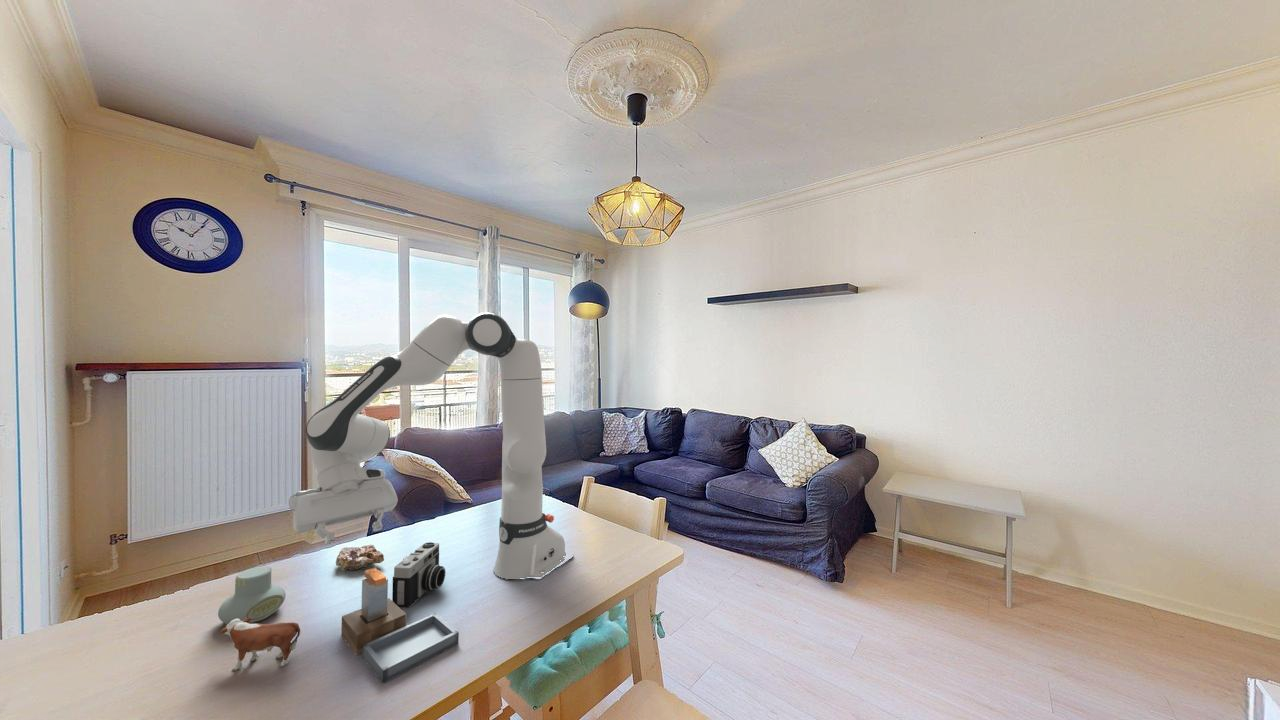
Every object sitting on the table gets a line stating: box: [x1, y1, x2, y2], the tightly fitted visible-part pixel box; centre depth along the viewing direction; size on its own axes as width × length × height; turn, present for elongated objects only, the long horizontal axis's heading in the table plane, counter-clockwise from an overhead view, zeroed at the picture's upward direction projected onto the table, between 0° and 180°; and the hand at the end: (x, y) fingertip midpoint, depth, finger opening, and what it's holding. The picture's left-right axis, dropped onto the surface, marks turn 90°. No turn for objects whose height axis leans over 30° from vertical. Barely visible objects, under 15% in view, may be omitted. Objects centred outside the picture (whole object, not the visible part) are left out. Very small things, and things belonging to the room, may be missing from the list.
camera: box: [391, 541, 446, 609], centre depth 104 cm, size 14×9×10 cm, turn 170°
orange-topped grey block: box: [361, 567, 389, 624], centre depth 88 cm, size 4×6×13 cm, turn 51°
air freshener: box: [217, 565, 286, 625], centre depth 93 cm, size 11×8×10 cm
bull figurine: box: [220, 618, 301, 672], centre depth 79 cm, size 4×13×8 cm, turn 95°
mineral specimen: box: [335, 544, 385, 571], centre depth 117 cm, size 12×8×7 cm
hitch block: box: [340, 597, 407, 656], centre depth 88 cm, size 9×9×4 cm
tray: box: [361, 612, 460, 685], centre depth 84 cm, size 14×10×2 cm
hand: (355, 535), depth 96 cm, fingers open, 8 cm apart
